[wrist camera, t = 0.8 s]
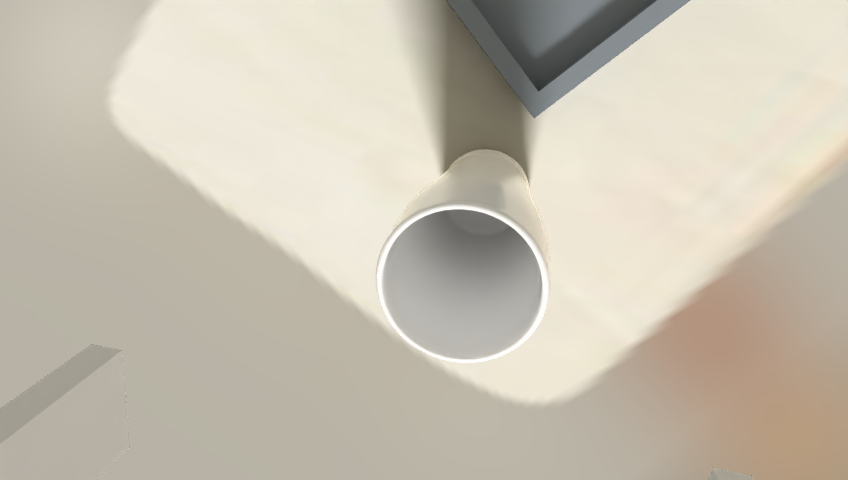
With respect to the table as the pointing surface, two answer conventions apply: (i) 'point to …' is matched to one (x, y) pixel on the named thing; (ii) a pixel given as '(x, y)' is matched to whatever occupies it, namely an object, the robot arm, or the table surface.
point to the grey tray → (557, 39)
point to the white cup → (467, 262)
